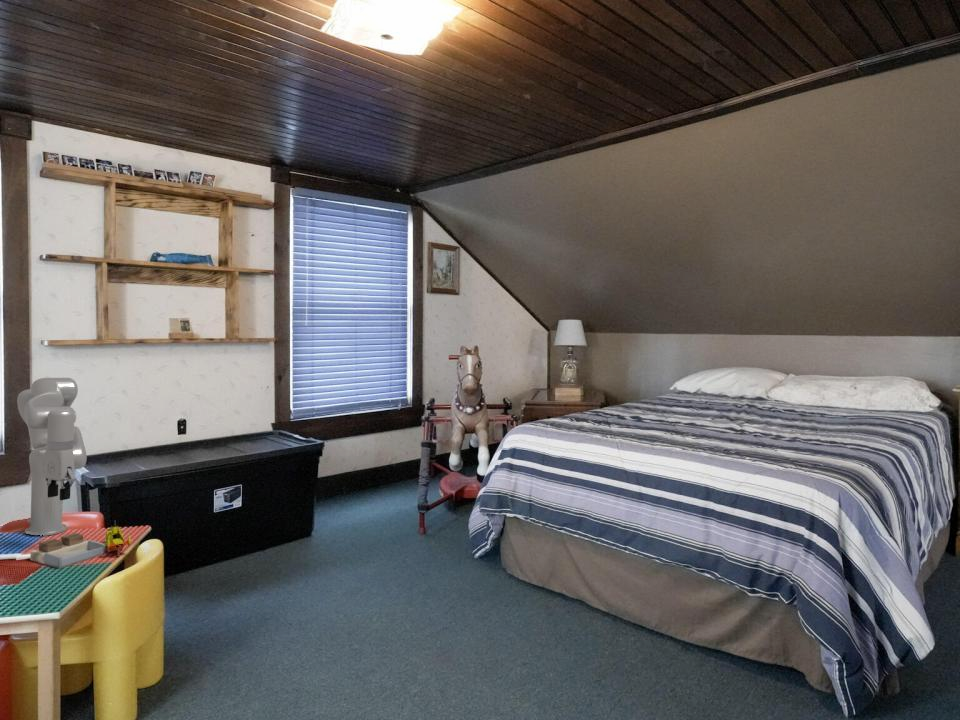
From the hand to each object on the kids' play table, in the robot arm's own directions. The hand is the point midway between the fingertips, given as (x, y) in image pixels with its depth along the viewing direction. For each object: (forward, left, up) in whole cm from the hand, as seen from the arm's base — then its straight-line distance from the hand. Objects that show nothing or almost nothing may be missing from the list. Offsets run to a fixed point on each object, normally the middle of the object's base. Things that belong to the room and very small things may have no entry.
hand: (58, 497), depth 208 cm
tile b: (+8, -7, -15) cm, 18 cm away
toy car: (+17, +8, -18) cm, 26 cm away
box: (+15, -4, -18) cm, 23 cm away
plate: (+8, -4, -18) cm, 19 cm away
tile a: (+8, 0, -15) cm, 16 cm away
